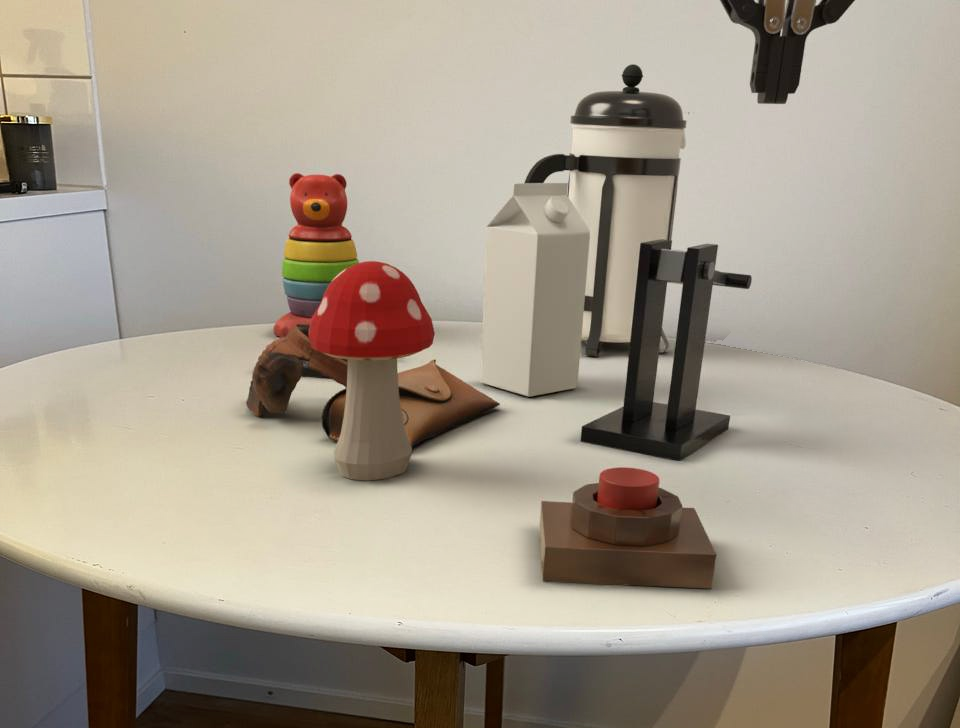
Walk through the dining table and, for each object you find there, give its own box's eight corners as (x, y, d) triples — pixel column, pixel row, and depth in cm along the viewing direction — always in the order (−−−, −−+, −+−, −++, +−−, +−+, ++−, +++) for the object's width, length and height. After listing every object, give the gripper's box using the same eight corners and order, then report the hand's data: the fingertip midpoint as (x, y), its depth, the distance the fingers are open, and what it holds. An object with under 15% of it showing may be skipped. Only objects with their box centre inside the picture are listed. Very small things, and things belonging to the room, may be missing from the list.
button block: (690, 539, 67) (698, 481, 65) (711, 589, 60) (721, 525, 58) (539, 532, 67) (543, 474, 65) (542, 581, 60) (547, 517, 58)
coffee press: (564, 329, 133) (584, 66, 119) (683, 343, 127) (718, 69, 113) (510, 351, 119) (524, 57, 105) (640, 368, 113) (674, 59, 99)
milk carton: (479, 384, 104) (487, 180, 95) (528, 375, 108) (540, 180, 99) (528, 398, 99) (541, 186, 90) (577, 389, 104) (594, 185, 95)
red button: (652, 495, 64) (655, 468, 63) (659, 515, 60) (663, 487, 60) (594, 492, 64) (597, 465, 63) (599, 512, 60) (602, 484, 60)
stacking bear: (270, 337, 121) (261, 173, 113) (287, 322, 130) (280, 169, 122) (360, 341, 121) (358, 177, 112) (371, 326, 130) (370, 173, 121)
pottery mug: (263, 398, 97) (305, 322, 95) (343, 453, 96) (387, 377, 94) (203, 394, 86) (248, 306, 83) (293, 456, 85) (341, 370, 83)
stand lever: (694, 290, 95) (699, 262, 94) (748, 296, 93) (754, 268, 92) (638, 277, 83) (643, 246, 83) (698, 284, 81) (704, 253, 80)
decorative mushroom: (381, 497, 72) (380, 275, 65) (287, 474, 76) (276, 261, 69) (455, 463, 80) (461, 261, 73) (366, 443, 84) (363, 250, 77)
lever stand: (636, 412, 96) (656, 233, 89) (728, 429, 92) (756, 243, 85) (580, 441, 87) (597, 243, 80) (679, 460, 83) (706, 255, 76)
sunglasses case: (410, 449, 81) (372, 371, 79) (346, 480, 85) (309, 405, 83) (505, 403, 95) (475, 336, 94) (447, 431, 99) (417, 367, 98)
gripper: (716, -267, 54) (678, 100, 62) (963, -260, 54) (894, 106, 62) (692, -226, 61) (661, 101, 69) (912, -219, 61) (855, 107, 69)
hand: (771, 103), depth 66 cm, fingers closed
